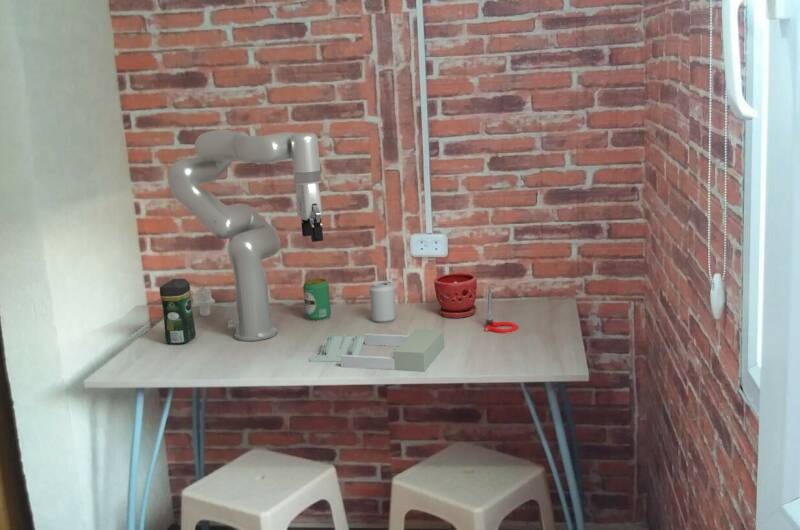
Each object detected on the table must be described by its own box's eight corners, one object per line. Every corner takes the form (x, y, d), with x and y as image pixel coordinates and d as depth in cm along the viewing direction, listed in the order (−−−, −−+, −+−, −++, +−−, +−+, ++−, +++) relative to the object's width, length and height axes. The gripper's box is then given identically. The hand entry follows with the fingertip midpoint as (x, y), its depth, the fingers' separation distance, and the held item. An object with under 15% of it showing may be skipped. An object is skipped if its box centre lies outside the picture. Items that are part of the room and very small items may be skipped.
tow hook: (520, 326, 268) (490, 324, 271) (521, 284, 265) (490, 282, 268) (514, 335, 261) (483, 332, 264) (515, 292, 257) (483, 289, 260)
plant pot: (456, 306, 292) (454, 270, 290) (486, 313, 283) (485, 275, 280) (427, 315, 284) (425, 278, 281) (457, 323, 274) (455, 284, 272)
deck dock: (341, 366, 241) (339, 348, 240) (366, 343, 259) (365, 326, 258) (424, 371, 234) (423, 352, 233) (444, 347, 252) (443, 329, 251)
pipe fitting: (214, 316, 296) (211, 292, 294) (192, 317, 296) (189, 294, 295) (218, 311, 302) (215, 288, 301) (196, 312, 303) (194, 289, 301)
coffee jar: (174, 335, 278) (167, 276, 274) (199, 335, 276) (192, 276, 272) (161, 345, 268) (154, 284, 264) (187, 345, 267) (180, 284, 263)
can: (400, 318, 282) (398, 280, 280) (387, 324, 276) (385, 286, 274) (380, 315, 286) (378, 278, 284) (367, 322, 280) (364, 284, 278)
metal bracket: (320, 329, 257) (371, 329, 254) (323, 346, 260) (374, 346, 257) (307, 358, 245) (361, 359, 242) (310, 376, 247) (363, 377, 244)
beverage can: (300, 319, 288) (297, 282, 285) (318, 313, 294) (315, 277, 291) (318, 322, 283) (315, 285, 280) (336, 316, 288) (333, 279, 286)
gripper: (286, 176, 258) (292, 235, 262) (302, 182, 242) (307, 245, 246) (312, 173, 260) (317, 232, 264) (329, 179, 245) (334, 241, 248)
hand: (312, 238), depth 255 cm, fingers open, 9 cm apart
